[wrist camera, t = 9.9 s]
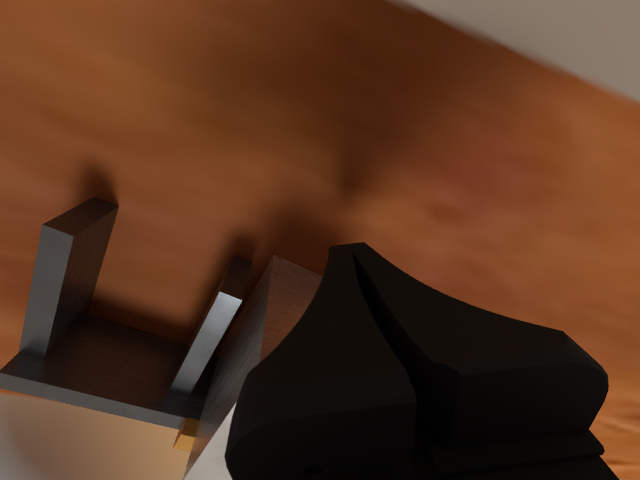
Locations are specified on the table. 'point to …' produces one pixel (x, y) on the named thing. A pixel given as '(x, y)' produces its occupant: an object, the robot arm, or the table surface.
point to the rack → (111, 335)
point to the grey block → (248, 357)
